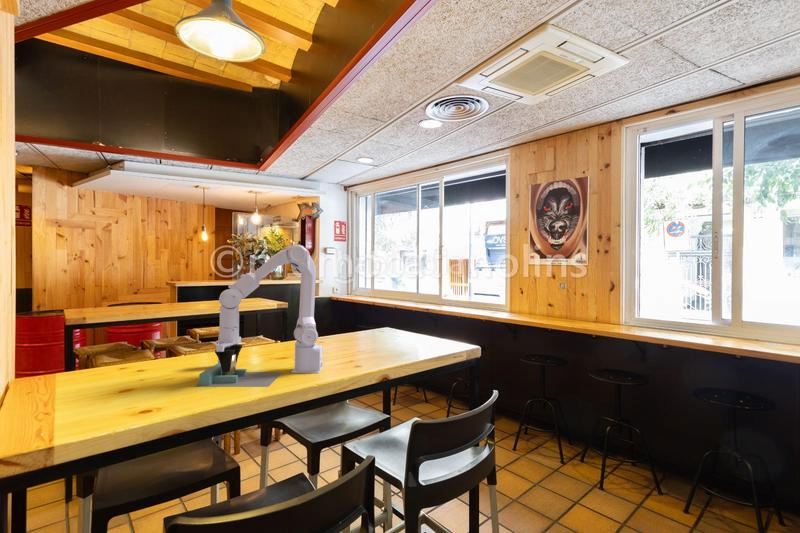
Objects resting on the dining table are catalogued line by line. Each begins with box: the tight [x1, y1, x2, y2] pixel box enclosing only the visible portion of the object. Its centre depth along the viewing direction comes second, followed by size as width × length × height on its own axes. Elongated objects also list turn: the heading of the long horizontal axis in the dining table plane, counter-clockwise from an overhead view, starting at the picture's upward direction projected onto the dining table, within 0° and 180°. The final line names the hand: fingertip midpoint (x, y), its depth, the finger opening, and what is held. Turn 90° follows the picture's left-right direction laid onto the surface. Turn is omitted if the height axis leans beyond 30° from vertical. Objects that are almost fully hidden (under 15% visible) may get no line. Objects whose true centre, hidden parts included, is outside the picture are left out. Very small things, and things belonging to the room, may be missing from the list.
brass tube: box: [222, 353, 237, 375], centre depth 124 cm, size 4×4×7 cm
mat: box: [194, 371, 283, 388], centre depth 124 cm, size 22×16×1 cm
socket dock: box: [198, 362, 248, 386], centre depth 124 cm, size 10×14×4 cm
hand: (228, 369), depth 124 cm, fingers closed on brass tube, 4 cm apart
